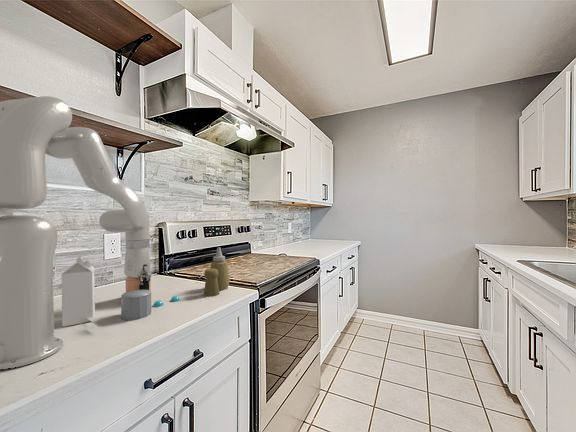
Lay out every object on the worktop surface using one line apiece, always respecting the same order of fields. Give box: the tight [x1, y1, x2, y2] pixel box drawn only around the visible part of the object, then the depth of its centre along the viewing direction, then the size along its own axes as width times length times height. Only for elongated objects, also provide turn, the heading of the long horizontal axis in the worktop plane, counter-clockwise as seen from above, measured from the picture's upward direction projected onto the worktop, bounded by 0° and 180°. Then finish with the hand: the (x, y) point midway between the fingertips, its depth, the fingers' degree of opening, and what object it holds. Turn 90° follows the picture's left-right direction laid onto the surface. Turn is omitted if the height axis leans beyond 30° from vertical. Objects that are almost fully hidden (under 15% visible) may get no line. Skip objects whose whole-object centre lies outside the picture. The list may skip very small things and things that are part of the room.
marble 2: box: [170, 295, 181, 303], centre depth 93 cm, size 3×3×3 cm
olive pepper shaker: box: [203, 268, 220, 298], centre depth 100 cm, size 6×6×11 cm
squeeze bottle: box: [209, 246, 230, 292], centre depth 108 cm, size 8×8×18 cm
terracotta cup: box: [125, 275, 152, 293], centre depth 96 cm, size 8×8×8 cm
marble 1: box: [153, 300, 165, 308], centre depth 88 cm, size 3×3×3 cm
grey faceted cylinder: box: [120, 290, 152, 321], centre depth 80 cm, size 8×8×8 cm
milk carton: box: [61, 255, 96, 327], centre depth 80 cm, size 7×7×19 cm
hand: (138, 293), depth 96 cm, fingers closed on terracotta cup, 7 cm apart
